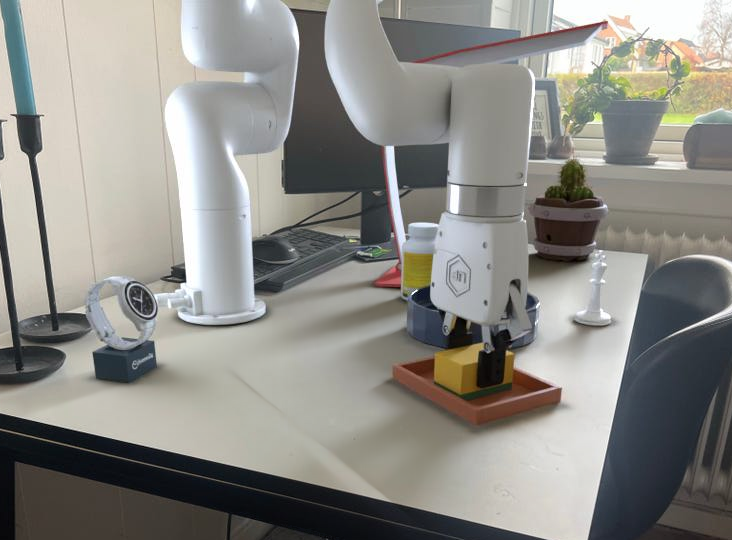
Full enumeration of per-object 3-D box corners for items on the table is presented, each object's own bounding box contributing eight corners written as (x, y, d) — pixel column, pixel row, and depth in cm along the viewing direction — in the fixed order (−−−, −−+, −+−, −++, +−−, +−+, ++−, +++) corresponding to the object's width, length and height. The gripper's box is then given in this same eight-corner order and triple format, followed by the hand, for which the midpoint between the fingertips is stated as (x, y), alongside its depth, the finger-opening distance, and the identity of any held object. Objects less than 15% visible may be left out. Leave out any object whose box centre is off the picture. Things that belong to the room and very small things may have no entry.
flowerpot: (597, 267, 133) (611, 156, 126) (516, 259, 139) (525, 154, 132) (607, 253, 145) (620, 152, 139) (532, 247, 152) (541, 149, 145)
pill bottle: (439, 305, 108) (443, 229, 104) (397, 303, 109) (399, 227, 105) (443, 294, 114) (446, 222, 110) (403, 292, 115) (405, 220, 111)
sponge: (460, 402, 72) (462, 365, 70) (433, 387, 75) (435, 352, 74) (511, 389, 75) (515, 353, 74) (483, 375, 79) (486, 341, 77)
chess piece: (592, 327, 97) (601, 255, 94) (567, 318, 101) (574, 249, 98) (618, 322, 99) (628, 252, 96) (592, 314, 104) (600, 246, 100)
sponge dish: (475, 429, 67) (477, 410, 66) (391, 381, 78) (392, 364, 78) (560, 405, 72) (562, 387, 72) (470, 363, 84) (471, 348, 83)
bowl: (461, 364, 84) (463, 324, 82) (382, 327, 97) (382, 292, 96) (563, 341, 92) (567, 304, 90) (477, 310, 105) (479, 277, 104)
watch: (144, 385, 77) (133, 287, 74) (82, 376, 80) (69, 281, 76) (171, 367, 82) (163, 275, 79) (113, 360, 85) (102, 270, 81)
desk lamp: (575, 304, 109) (608, 17, 95) (339, 284, 120) (338, 25, 106) (578, 278, 125) (606, 29, 111) (369, 263, 136) (372, 35, 122)
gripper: (403, 195, 73) (398, 359, 80) (517, 216, 60) (500, 413, 66) (460, 190, 77) (451, 348, 83) (579, 210, 64) (558, 397, 70)
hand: (473, 375), depth 75 cm, fingers closed on sponge, 4 cm apart
